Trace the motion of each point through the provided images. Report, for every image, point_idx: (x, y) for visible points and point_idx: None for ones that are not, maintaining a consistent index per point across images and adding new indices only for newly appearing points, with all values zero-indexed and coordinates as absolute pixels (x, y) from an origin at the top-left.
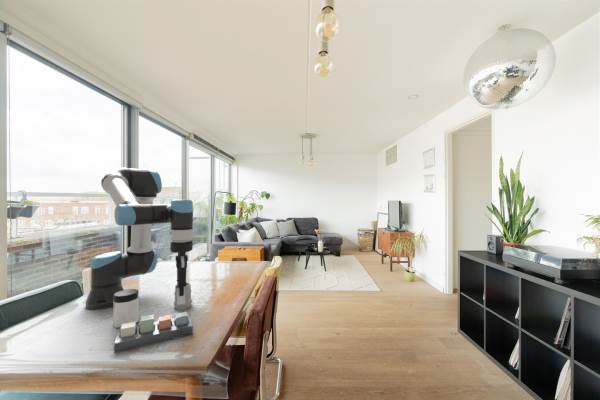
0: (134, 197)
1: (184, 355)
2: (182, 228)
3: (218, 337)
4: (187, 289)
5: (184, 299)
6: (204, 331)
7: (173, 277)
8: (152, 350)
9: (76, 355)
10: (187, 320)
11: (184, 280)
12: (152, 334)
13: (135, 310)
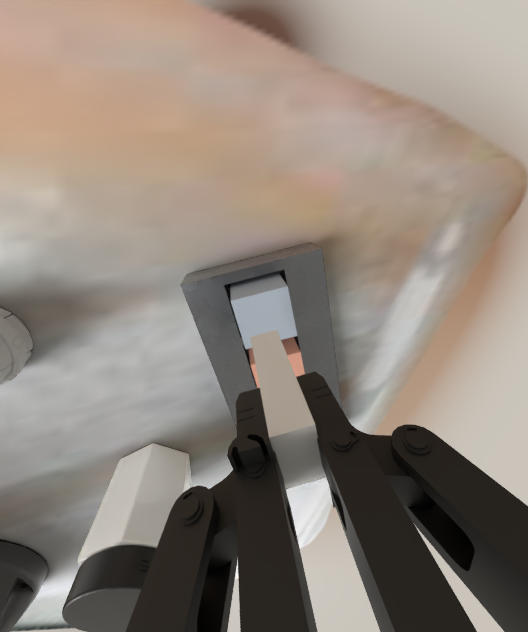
0: None
1: (442, 249)
2: None
3: (382, 115)
4: None
5: (282, 348)
6: (300, 191)
7: None
8: (365, 348)
9: (314, 481)
10: (283, 280)
11: (522, 520)
12: (334, 377)
13: (153, 489)
